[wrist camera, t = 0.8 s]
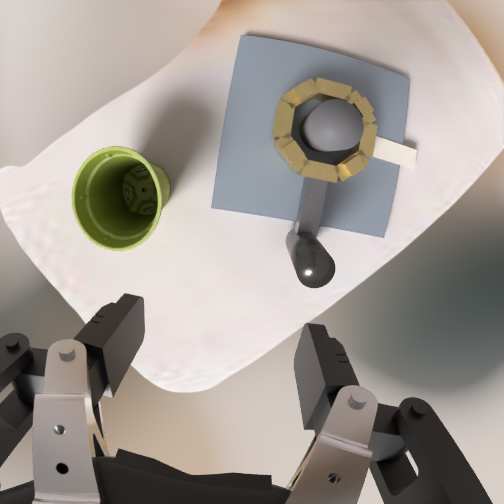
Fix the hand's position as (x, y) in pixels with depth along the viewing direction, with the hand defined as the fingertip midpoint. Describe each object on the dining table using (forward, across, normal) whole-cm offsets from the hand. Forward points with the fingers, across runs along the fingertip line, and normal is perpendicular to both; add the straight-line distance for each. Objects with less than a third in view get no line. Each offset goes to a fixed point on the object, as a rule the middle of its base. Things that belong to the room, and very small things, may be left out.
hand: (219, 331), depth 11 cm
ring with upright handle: (+20, -7, -7) cm, 22 cm away
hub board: (+22, -7, -11) cm, 25 cm away
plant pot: (+22, +11, -2) cm, 25 cm away
